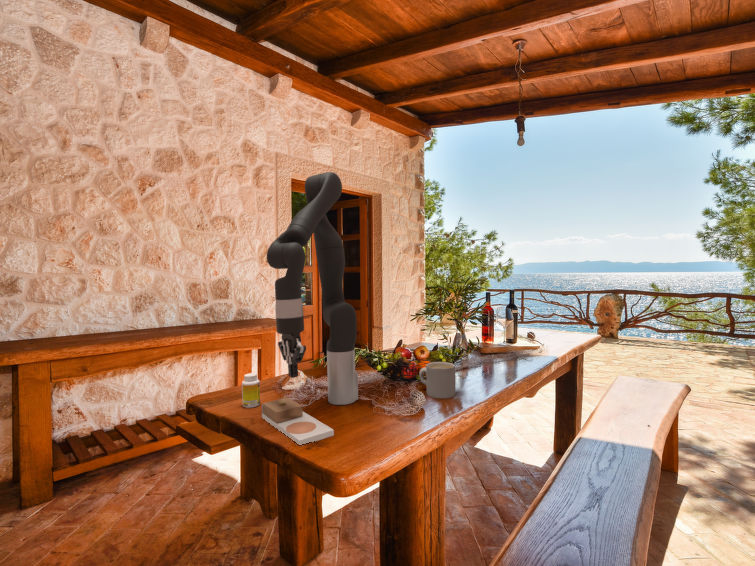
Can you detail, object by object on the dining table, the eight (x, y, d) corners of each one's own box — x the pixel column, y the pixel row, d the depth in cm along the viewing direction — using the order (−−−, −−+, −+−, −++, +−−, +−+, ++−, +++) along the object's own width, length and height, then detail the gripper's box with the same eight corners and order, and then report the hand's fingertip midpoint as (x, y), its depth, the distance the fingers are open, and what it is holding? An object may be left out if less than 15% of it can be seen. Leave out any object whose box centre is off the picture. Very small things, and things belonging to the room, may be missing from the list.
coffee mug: (461, 393, 136) (461, 365, 136) (442, 400, 130) (442, 370, 130) (432, 385, 147) (432, 359, 146) (413, 391, 140) (413, 363, 140)
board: (292, 409, 124) (292, 397, 124) (333, 435, 104) (333, 420, 104) (261, 417, 118) (261, 404, 118) (299, 446, 98) (299, 431, 98)
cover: (288, 406, 122) (287, 394, 122) (302, 416, 114) (302, 402, 114) (263, 413, 117) (262, 399, 117) (276, 423, 109) (276, 408, 109)
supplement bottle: (261, 406, 128) (260, 375, 128) (243, 409, 126) (242, 377, 125) (258, 401, 133) (257, 371, 133) (241, 404, 131) (240, 373, 130)
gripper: (313, 315, 106) (317, 378, 107) (291, 312, 117) (294, 369, 117) (288, 318, 102) (292, 384, 102) (267, 315, 112) (270, 375, 113)
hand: (293, 376), depth 110 cm, fingers closed
